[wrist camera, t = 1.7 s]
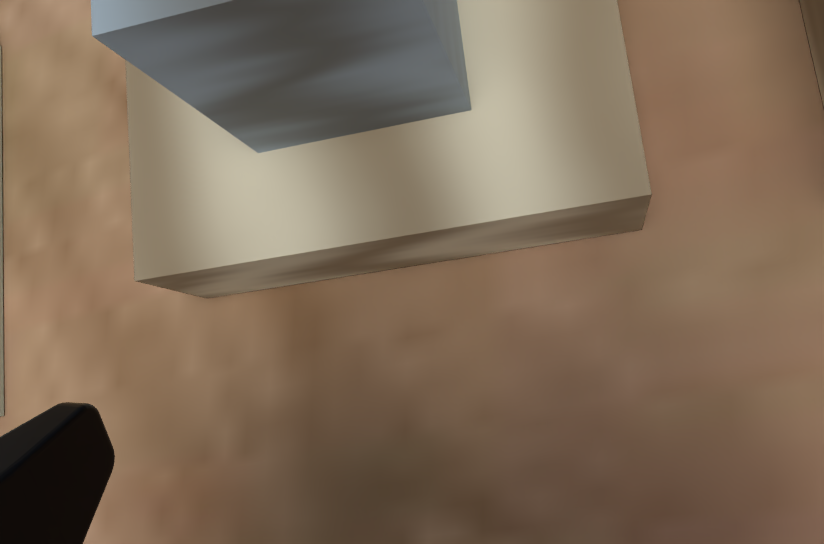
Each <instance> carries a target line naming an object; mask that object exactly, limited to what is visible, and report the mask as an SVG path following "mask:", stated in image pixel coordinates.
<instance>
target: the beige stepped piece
mask: <svg viewBox="0 0 824 544" xmlns="http://www.w3.org/2000/svg"><path fill="white" fill-rule="evenodd" d="M799 2H800V6H801V11H802V15H803V19H804V24H805V28H806V32H807V37H808V41H809V45H810V50H811V54H812V58H813V63H814V67H815V72H816V76H817V80H818V85H819V89H820V93H821V98H822V102H823V106H824V0H799ZM457 5H458V12H459V20H460V27H461V35H462V42H463V50H464V57H465V65H466V72H467V80H468V87H469V94H470V102H471V109H472V110H470V111H465V112H460V113H455V114H450V115H445V116H440V117H435V118H430V119H425V120H420V121H415V122H410V123H405V124H400V125H395V126H390V127H385V128H380V129H376V130H371V131H366V132H361V133H356V134H351V135H346V136H341V137H336V138H331V139H326V140H321V141H316V142H311V143H306V144H301V145H296V146H291V147H286V148H281V149H276V150H271V151H267V152H262V153H257V152H256V151H254V150H253V149H251V148H250V147H249V146H247V145H246V144H244V143H243V142H242V141H240V140H239V139H237V138H236V137H234V136H233V135H232V134H230V133H229V132H227V131H226V130H225V129H223V128H222V127H220V126H219V125H218V124H216V123H215V122H213V121H212V120H210V119H209V118H208V117H206V116H205V115H203V114H202V113H201V112H199V111H198V110H196V109H195V108H193V107H192V106H191V105H189V104H188V103H186V102H185V101H184V100H182V99H181V98H179V97H178V96H176V95H175V94H174V93H172V92H171V91H169V90H168V89H167V88H165V87H164V86H162V85H161V84H159V83H158V82H157V81H155V80H154V79H152V78H151V77H150V76H148V75H147V74H145V73H144V72H142V71H141V70H140V69H138V68H137V67H135V66H134V65H133V64H131V63H130V62H128V61H127V60H125V62H126V86H127V111H128V135H129V159H130V183H131V207H132V231H133V256H134V280H135V281H137V282H141V283H145V284H149V285H153V286H157V287H162V288H166V289H170V290H174V291H178V292H182V293H186V294H191V295H195V296H199V297H203V298H212V297H219V296H225V295H231V294H238V293H244V292H250V291H257V290H263V289H269V288H276V287H282V286H288V285H295V284H301V283H307V282H314V281H320V280H326V279H333V278H339V277H345V276H352V275H358V274H364V273H371V272H377V271H383V270H390V269H396V268H402V267H409V266H415V265H421V264H428V263H434V262H440V261H446V260H453V259H459V258H465V257H472V256H478V255H484V254H491V253H497V252H503V251H510V250H516V249H522V248H529V247H535V246H541V245H548V244H554V243H560V242H567V241H573V240H579V239H586V238H592V237H598V236H605V235H611V234H617V233H624V232H630V231H636V230H642V227H643V224H644V220H645V217H646V213H647V209H648V206H649V202H650V199H651V195H652V193H651V188H650V182H649V177H648V171H647V165H646V160H645V154H644V149H643V143H642V137H641V132H640V126H639V121H638V115H637V110H636V104H635V98H634V93H633V87H632V82H631V76H630V70H629V65H628V59H627V54H626V48H625V42H624V37H623V31H622V26H621V20H620V15H619V9H618V3H617V0H457Z"/></svg>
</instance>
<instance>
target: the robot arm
mask: <svg viewBox="0 0 824 544" xmlns="http://www.w3.org/2000/svg"><path fill="white" fill-rule="evenodd" d="M114 458H115V455H114V449H113V446H112V444H111V441H110V439H109V436H108V434H107V431H106V429H105V426H104V424H103V421H102V419H101V416H100V414H99V412H98V410H97V409H96V408H95V407H94V406H93V405H90V404H87V403H69V402H66V403H60V404H58V405H56V406H54V407H52V408H50V409H48V410H47V411H45V412H43V413H41V414H40V415H38V416H36V417H34V418H33V419H31V420H29V421H27V422H26V423H24V424H22V425H20V426H19V427H17V428H15V429H13V430H11V431H10V432H8V433H6V434H4V435H3V436H1V437H0V544H83V542H84V539H85V537H86V534H87V532H88V529H89V527H90V524H91V522H92V519H93V517H94V515H95V512H96V510H97V507H98V505H99V502H100V500H101V497H102V495H103V492H104V490H105V487H106V485H107V483H108V480H109V478H110V475H111V473H112V470H113V466H114Z"/></svg>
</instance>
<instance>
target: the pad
mask: <svg viewBox="0 0 824 544" xmlns="http://www.w3.org/2000/svg"><path fill="white" fill-rule="evenodd" d="M0 416H4V360H3V225H2V89H1V46H0Z"/></svg>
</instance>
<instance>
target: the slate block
mask: <svg viewBox="0 0 824 544" xmlns="http://www.w3.org/2000/svg"><path fill="white" fill-rule="evenodd" d="M91 16H92V36H93V37H94V38H96V39H97V40H99V41H100V42H101V43H103V44H104V45H106V46H107V47H108V48H110V49H111V50H113V51H114V52H116V53H117V54H118V55H120V56H121V57H123V58H124V59H125V60H127V61H128V62H130V63H131V64H133V65H134V66H135V67H137V68H138V69H140V70H141V71H142V72H144V73H145V74H147V75H148V76H150V77H151V78H152V79H154V80H155V81H157V82H158V83H159V84H161V85H162V86H164V87H165V88H167V89H168V90H169V91H171V92H172V93H174V94H175V95H176V96H178V97H179V98H181V99H182V100H184V101H185V102H186V103H188V104H189V105H191V106H192V107H193V108H195V109H196V110H198V111H199V112H201V113H202V114H203V115H205V116H206V117H208V118H209V119H210V120H212V121H213V122H215V123H216V124H218V125H219V126H220V127H222V128H223V129H225V130H226V131H227V132H229V133H230V134H232V135H233V136H234V137H236V138H237V139H239V140H240V141H242V142H243V143H244V144H246V145H247V146H249V147H250V148H251V149H253V150H254V151H256V152H257V153H262V152H267V151H271V150H276V149H281V148H286V147H291V146H296V145H301V144H306V143H311V142H316V141H321V140H326V139H331V138H336V137H341V136H346V135H351V134H356V133H361V132H366V131H371V130H376V129H380V128H385V127H390V126H395V125H400V124H405V123H410V122H415V121H420V120H425V119H430V118H435V117H440V116H445V115H450V114H455V113H460V112H465V111H470V110H472V109H471V102H470V94H469V87H468V80H467V72H466V65H465V57H464V50H463V42H462V35H461V27H460V20H459V12H458V5H457V0H91Z"/></svg>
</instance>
